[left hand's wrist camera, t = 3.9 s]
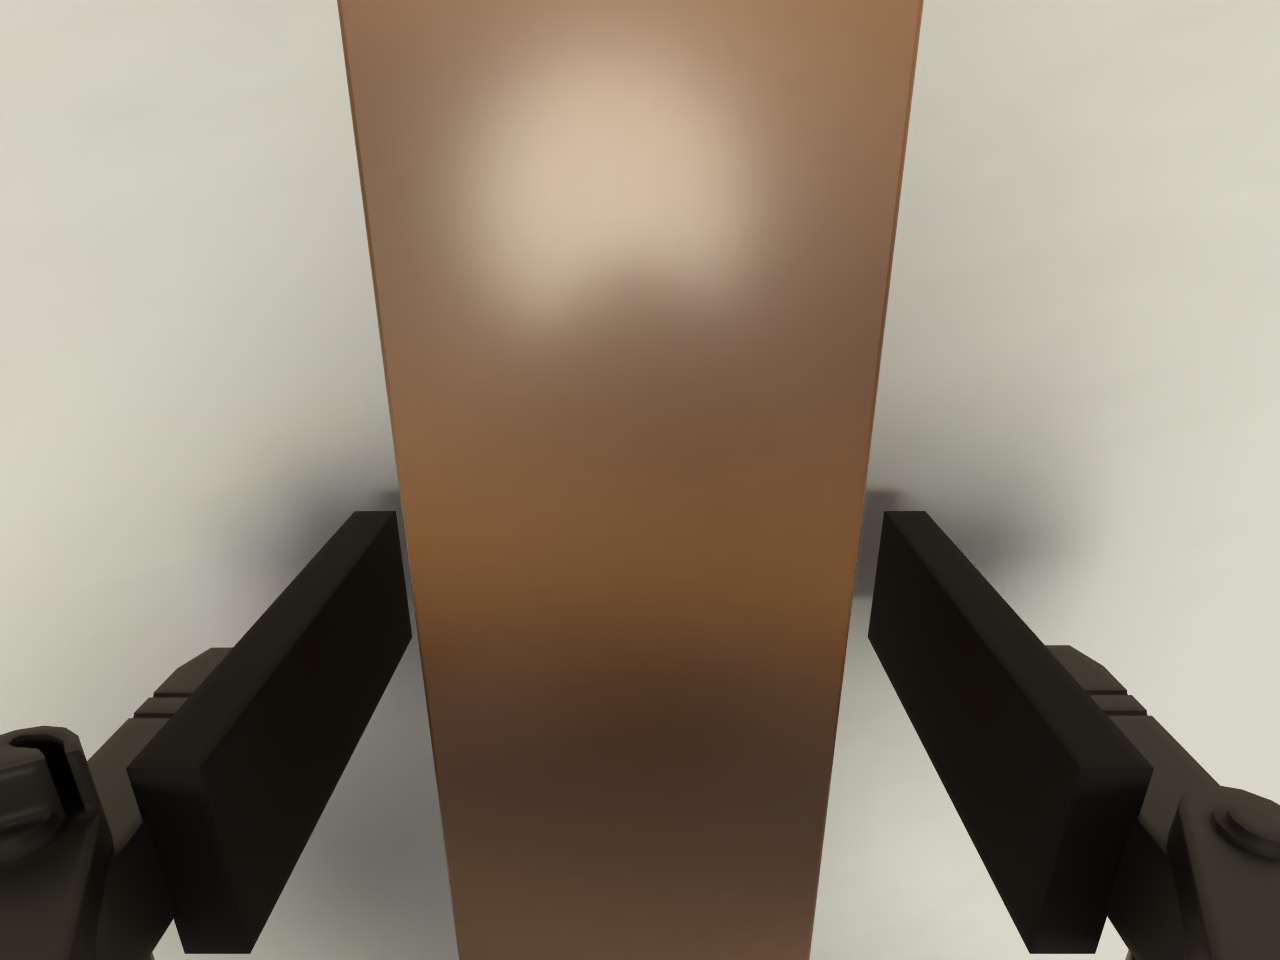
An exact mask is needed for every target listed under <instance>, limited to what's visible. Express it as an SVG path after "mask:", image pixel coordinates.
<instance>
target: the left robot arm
mask: <svg viewBox="0 0 1280 960" xmlns="http://www.w3.org/2000/svg"><path fill="white" fill-rule="evenodd" d="M411 638H412V632H411V624H410V617H409V609H408V601H407V594H406V586H405V578H404V571H403V563H402V555H401V548H400V540H399V532H398V525H397V517H396V511H355V512H354V513H353V514H352V515H351V516H350V517H349V518H348V520H347V521H346V522H345V523H344V524H343V525H342V526H341V527H340V529H339V530H338V531H337V532H336V533H335V534H334V535H333V536H332V537H331V539H330V540H329V541H328V542H327V543H326V544H325V545H324V546H323V548H322V549H321V550H320V551H319V552H318V553H317V554H316V555H315V557H314V558H313V559H312V560H311V561H310V562H309V563H308V564H307V566H306V567H305V568H304V569H303V570H302V571H301V572H300V573H299V574H298V576H297V577H296V578H295V579H294V580H293V581H292V582H291V583H290V585H289V586H288V587H287V588H286V589H285V590H284V591H283V592H282V594H281V595H280V596H279V597H278V598H277V599H276V600H275V601H274V603H273V604H272V605H271V606H270V607H269V608H268V609H267V610H266V611H265V613H264V614H263V615H262V616H261V617H260V618H259V619H258V620H257V622H256V623H255V624H254V625H253V626H252V627H251V628H250V629H249V631H248V632H247V633H246V634H245V635H244V636H243V637H242V638H241V640H240V641H239V642H238V643H237V644H236V645H235V646H234V647H233V648H210V649H208V650H207V651H205V652H204V653H202V654H200V655H199V656H197V657H195V658H194V659H192V660H190V661H189V662H187V663H186V664H184V665H182V666H181V667H179V668H177V669H176V670H175V671H174V672H173V673H172V675H171V676H170V677H169V678H168V679H167V680H166V681H165V682H164V683H163V684H162V685H161V686H160V687H159V688H158V689H157V690H156V691H155V692H154V696H153V698H148V699H147V700H146V701H145V702H144V703H143V704H142V705H141V706H140V708H139V709H138V710H137V711H136V712H135V713H134V717H133V718H129V719H128V720H127V721H126V722H125V723H124V724H123V725H122V726H121V727H120V728H119V729H118V730H117V731H116V732H115V733H114V734H113V735H112V736H111V737H110V738H109V739H108V740H107V742H106V743H105V744H104V745H103V746H102V747H101V748H100V749H99V750H98V751H97V752H96V753H95V754H94V755H93V756H92V757H91V758H90V759H89V760H88V761H87V760H86V758H85V755H84V752H83V749H82V746H81V743H80V740H79V737H78V735H76V734H74V733H73V732H71V731H70V730H68V729H67V728H63V727H51V726H39V727H33V728H27V729H20V730H15V731H12V732H9V733H6V734H3V735H0V960H155V959H154V956H153V953H152V951H153V950H154V948H155V947H156V945H157V943H158V942H159V940H160V939H161V937H162V936H163V934H164V933H165V931H166V929H167V928H168V926H169V925H170V923H171V922H172V920H173V919H174V921H175V924H176V927H177V930H178V934H179V937H180V940H181V943H182V946H183V949H184V952H185V954H250V953H251V951H252V949H253V947H254V945H255V943H256V941H257V939H258V937H259V935H260V933H261V931H262V929H263V927H264V926H265V924H266V922H267V920H268V918H269V916H270V914H271V912H272V910H273V908H274V906H275V904H276V902H277V900H278V898H279V896H280V894H281V892H282V890H283V888H284V886H285V884H286V883H287V881H288V879H289V877H290V875H291V873H292V871H293V869H294V867H295V865H296V863H297V861H298V859H299V857H300V855H301V853H302V851H303V849H304V847H305V845H306V843H307V841H308V840H309V838H310V836H311V834H312V832H313V830H314V828H315V826H316V824H317V822H318V820H319V818H320V816H321V814H322V812H323V810H324V808H325V806H326V804H327V802H328V800H329V798H330V797H331V795H332V793H333V791H334V789H335V787H336V785H337V783H338V781H339V779H340V777H341V775H342V773H343V771H344V769H345V767H346V765H347V763H348V761H349V759H350V757H351V755H352V754H353V752H354V750H355V748H356V746H357V744H358V742H359V740H360V738H361V736H362V734H363V732H364V730H365V728H366V726H367V724H368V722H369V720H370V718H371V716H372V714H373V712H374V711H375V709H376V707H377V705H378V703H379V701H380V699H381V697H382V695H383V693H384V691H385V689H386V687H387V685H388V683H389V681H390V679H391V677H392V675H393V673H394V671H395V669H396V668H397V666H398V664H399V662H400V660H401V658H402V656H403V654H404V652H405V650H406V648H407V646H408V644H409V642H410V640H411ZM868 638H869V640H870V642H871V644H872V646H873V648H874V650H875V652H876V654H877V656H878V658H879V660H880V662H881V664H882V666H883V668H884V670H885V671H886V673H887V675H888V677H889V679H890V681H891V683H892V685H893V687H894V689H895V691H896V693H897V695H898V697H899V699H900V701H901V703H902V705H903V707H904V709H905V711H906V713H907V714H908V716H909V718H910V720H911V722H912V724H913V726H914V728H915V730H916V732H917V734H918V736H919V738H920V740H921V742H922V744H923V746H924V748H925V750H926V752H927V754H928V756H929V757H930V759H931V761H932V763H933V765H934V767H935V769H936V771H937V773H938V775H939V777H940V779H941V781H942V783H943V785H944V787H945V789H946V791H947V793H948V795H949V797H950V799H951V800H952V802H953V804H954V806H955V808H956V810H957V812H958V814H959V816H960V818H961V820H962V822H963V824H964V826H965V828H966V830H967V832H968V834H969V836H970V838H971V840H972V842H973V843H974V845H975V847H976V849H977V851H978V853H979V855H980V857H981V859H982V861H983V863H984V865H985V867H986V869H987V871H988V873H989V875H990V877H991V879H992V881H993V883H994V885H995V886H996V888H997V890H998V892H999V894H1000V896H1001V898H1002V900H1003V902H1004V904H1005V906H1006V908H1007V910H1008V912H1009V914H1010V916H1011V918H1012V920H1013V922H1014V924H1015V926H1016V928H1017V929H1018V931H1019V933H1020V935H1021V937H1022V939H1023V941H1024V943H1025V945H1026V947H1027V949H1028V951H1029V953H1030V954H1095V952H1096V949H1097V946H1098V943H1099V940H1100V937H1101V933H1102V930H1103V927H1104V924H1105V921H1106V918H1107V916H1108V918H1109V919H1110V921H1111V922H1112V924H1113V926H1114V927H1115V929H1116V930H1117V932H1118V933H1119V935H1120V936H1121V938H1122V940H1123V941H1124V943H1125V944H1126V946H1127V947H1128V949H1129V951H1128V953H1127V956H1126V959H1125V960H1280V805H1278V804H1277V803H1275V802H1273V801H1271V800H1269V799H1266V798H1263V797H1260V796H1258V795H1255V794H1252V793H1250V792H1247V791H1244V790H1241V789H1235V788H1230V787H1224V786H1220V785H1219V784H1218V783H1217V782H1216V781H1215V780H1214V779H1213V778H1212V777H1211V776H1210V775H1209V774H1208V773H1207V772H1206V771H1205V770H1204V769H1203V768H1202V767H1201V766H1200V765H1199V764H1198V763H1197V762H1196V760H1195V759H1194V758H1193V757H1192V756H1191V755H1190V754H1189V753H1188V752H1187V751H1186V750H1185V749H1184V748H1183V747H1182V746H1181V745H1180V744H1179V743H1178V742H1177V741H1176V740H1175V739H1174V738H1173V737H1172V736H1171V735H1170V734H1169V733H1168V732H1167V731H1166V730H1165V729H1164V728H1163V727H1162V726H1161V725H1160V724H1159V723H1158V722H1157V721H1156V720H1155V718H1154V717H1153V716H1148V715H1147V710H1146V709H1145V708H1144V707H1143V706H1142V705H1141V704H1140V703H1139V702H1138V701H1137V700H1136V699H1135V698H1134V697H1133V696H1132V695H1128V694H1127V690H1126V689H1125V688H1124V687H1123V686H1122V685H1121V684H1120V683H1119V682H1118V681H1117V680H1116V679H1115V678H1114V677H1113V675H1112V674H1111V673H1110V672H1109V671H1108V670H1107V669H1106V668H1105V667H1104V666H1102V665H1101V664H1099V663H1097V662H1096V661H1094V660H1092V659H1091V658H1089V657H1088V656H1086V655H1084V654H1083V653H1081V652H1079V651H1078V650H1076V649H1074V648H1073V647H1071V646H1069V645H1044V644H1043V643H1042V642H1041V641H1040V640H1039V638H1038V637H1037V636H1036V635H1035V634H1034V633H1033V632H1032V631H1031V629H1030V628H1029V627H1028V626H1027V625H1026V624H1025V623H1024V622H1023V620H1022V619H1021V618H1020V617H1019V616H1018V615H1017V614H1016V613H1015V612H1014V610H1013V609H1012V608H1011V607H1010V606H1009V605H1008V604H1007V603H1006V601H1005V600H1004V599H1003V598H1002V597H1001V596H1000V595H999V594H998V592H997V591H996V590H995V589H994V588H993V587H992V586H991V585H990V583H989V582H988V581H987V580H986V579H985V578H984V577H983V576H982V575H981V573H980V572H979V571H978V570H977V569H976V568H975V567H974V566H973V564H972V563H971V562H970V561H969V560H968V559H967V558H966V557H965V555H964V554H963V553H962V552H961V551H960V550H959V549H958V548H957V546H956V545H955V544H954V543H953V542H952V541H951V540H950V539H949V538H948V536H947V535H946V534H945V533H944V532H943V531H942V530H941V529H940V527H939V526H938V525H937V524H936V523H935V522H934V521H933V520H932V518H931V517H930V516H929V515H928V514H927V513H926V512H925V511H884V517H883V525H882V532H881V540H880V548H879V555H878V563H877V571H876V578H875V586H874V594H873V601H872V609H871V616H870V624H869V632H868Z"/></svg>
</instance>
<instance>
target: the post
mask: <svg viewBox="0 0 1280 960" xmlns="http://www.w3.org/2000/svg"><path fill="white" fill-rule="evenodd" d="M923 1H924V0H337V3H338V11H339V19H340V27H341V35H342V42H343V50H344V58H345V66H346V74H347V82H348V90H349V97H350V105H351V113H352V121H353V129H354V137H355V145H356V152H357V160H358V168H359V176H360V184H361V192H362V200H363V207H364V215H365V223H366V231H367V239H368V247H369V255H370V262H371V270H372V278H373V286H374V294H375V302H376V310H377V318H378V325H379V333H380V341H381V349H382V357H383V365H384V373H385V380H386V388H387V396H388V404H389V412H390V420H391V428H392V435H393V443H394V451H395V459H396V467H397V475H398V483H399V490H400V498H401V506H402V514H403V522H404V530H405V538H406V546H407V553H408V561H409V569H410V577H411V585H412V593H413V601H414V608H415V616H416V624H417V632H418V640H419V648H420V656H421V663H422V671H423V679H424V687H425V695H426V703H427V711H428V718H429V726H430V734H431V742H432V750H433V758H434V766H435V774H436V781H437V789H438V797H439V805H440V813H441V821H442V829H443V836H444V844H445V852H446V860H447V868H448V876H449V884H450V891H451V899H452V907H453V915H454V923H455V931H456V939H457V946H458V954H459V960H809V958H810V950H811V941H812V933H813V924H814V916H815V908H816V899H817V891H818V882H819V874H820V866H821V857H822V849H823V840H824V832H825V824H826V815H827V807H828V798H829V790H830V782H831V773H832V765H833V756H834V748H835V740H836V731H837V723H838V714H839V706H840V698H841V689H842V681H843V672H844V664H845V656H846V647H847V639H848V630H849V622H850V614H851V605H852V597H853V588H854V580H855V572H856V563H857V555H858V546H859V538H860V530H861V521H862V513H863V505H864V496H865V488H866V479H867V471H868V463H869V454H870V446H871V437H872V429H873V421H874V412H875V404H876V395H877V387H878V379H879V370H880V362H881V353H882V345H883V337H884V328H885V320H886V311H887V303H888V295H889V286H890V278H891V269H892V261H893V253H894V244H895V236H896V227H897V219H898V211H899V202H900V194H901V185H902V177H903V169H904V160H905V152H906V143H907V135H908V127H909V118H910V110H911V101H912V93H913V85H914V76H915V68H916V60H917V51H918V43H919V34H920V26H921V18H922V9H923Z"/></svg>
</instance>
